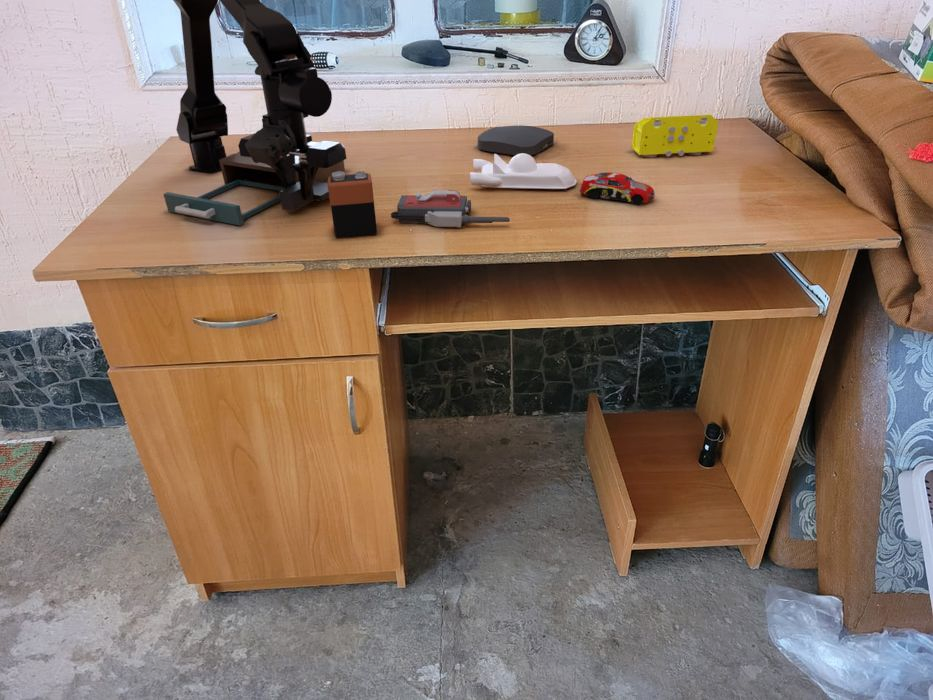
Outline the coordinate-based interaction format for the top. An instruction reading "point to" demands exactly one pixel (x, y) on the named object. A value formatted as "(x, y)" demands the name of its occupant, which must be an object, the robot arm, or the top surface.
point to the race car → (616, 188)
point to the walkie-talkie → (439, 210)
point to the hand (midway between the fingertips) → (299, 198)
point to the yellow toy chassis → (674, 135)
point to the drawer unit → (265, 168)
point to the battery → (352, 204)
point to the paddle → (294, 198)
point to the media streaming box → (515, 139)
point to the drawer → (217, 204)
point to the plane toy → (521, 174)
